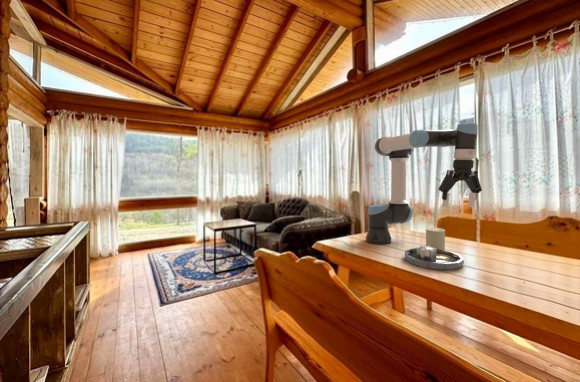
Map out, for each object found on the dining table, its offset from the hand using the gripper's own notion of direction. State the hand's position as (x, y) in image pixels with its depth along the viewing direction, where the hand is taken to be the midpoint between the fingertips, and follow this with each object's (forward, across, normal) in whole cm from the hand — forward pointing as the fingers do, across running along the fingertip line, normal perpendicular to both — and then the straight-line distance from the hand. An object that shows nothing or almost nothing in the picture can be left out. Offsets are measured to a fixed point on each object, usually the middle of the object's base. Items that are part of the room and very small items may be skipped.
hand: (458, 207), depth 116 cm
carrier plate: (+27, -6, +5) cm, 28 cm away
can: (+28, +8, +20) cm, 35 cm away
